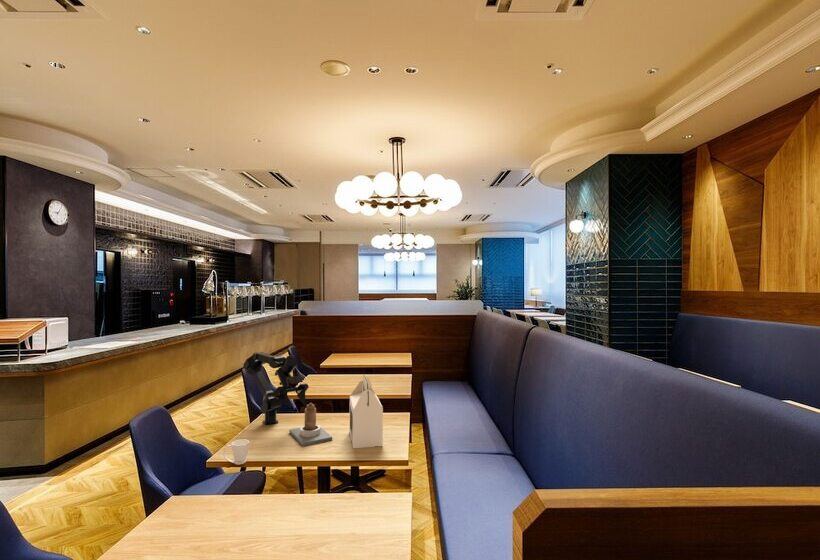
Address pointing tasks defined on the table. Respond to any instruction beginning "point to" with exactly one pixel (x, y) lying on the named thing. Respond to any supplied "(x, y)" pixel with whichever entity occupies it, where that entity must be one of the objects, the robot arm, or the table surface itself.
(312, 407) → the pepper mill
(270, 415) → the robot arm
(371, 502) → the table surface
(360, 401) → the gable box
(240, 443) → the cup
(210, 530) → the table surface
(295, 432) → the caddy board
